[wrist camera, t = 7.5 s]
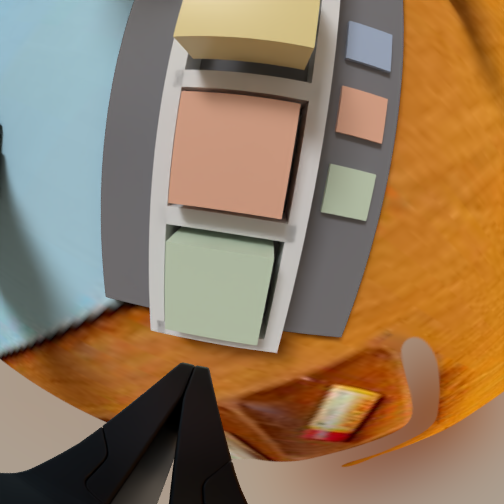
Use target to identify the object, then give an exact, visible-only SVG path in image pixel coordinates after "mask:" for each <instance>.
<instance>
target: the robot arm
mask: <svg viewBox="0 0 504 504" xmlns="http://www.w3.org/2000/svg"><path fill="white" fill-rule="evenodd" d="M173 460H174V465H173V472H172V482H171V490H170V500H169V504H248V503H247V501H246V499H245V497H244V495H243V492H242V490H241V488H240V485H239V482H238V479H237V476H236V473H235V470H234V466H233V463H232V462H231V456H230V453H229V449H228V445H227V441H226V438H225V434H224V430H223V426H222V422H221V418H220V414H219V410H218V406H217V402H216V397H215V393H214V389H213V384H212V380H211V375H210V370H209V368H207V367H202V366H194V365H192V364H187V363H180V364H179V365H177V366H176V367H175V368H174V369H173V370H171V371H170V372H169V373H168V374H167V375H165V376H164V377H163V378H162V379H161V380H159V381H158V382H157V383H156V384H155V385H153V386H152V387H151V388H150V389H148V390H147V391H146V392H145V393H144V394H142V395H141V396H140V397H139V398H137V399H136V400H135V401H134V402H132V403H131V404H130V405H129V406H127V407H126V408H125V409H124V410H122V411H121V412H120V413H119V414H117V415H116V416H115V417H114V418H112V419H111V420H110V421H108V422H107V423H106V424H105V425H103V428H102V427H101V428H99V429H98V430H97V431H95V432H94V433H93V434H91V435H90V436H89V437H87V438H86V439H84V440H83V441H82V442H80V443H79V444H77V445H75V446H73V447H72V448H70V449H68V450H67V451H65V452H63V453H61V454H59V455H57V456H56V457H54V458H52V459H50V460H48V461H46V462H44V463H42V464H40V465H38V466H36V467H34V468H32V469H29V470H27V471H23V472H18V473H0V504H157V503H158V500H159V497H160V495H161V492H162V489H163V487H164V484H165V481H166V478H167V476H168V473H169V471H170V468H171V465H172V463H173Z"/></svg>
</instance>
